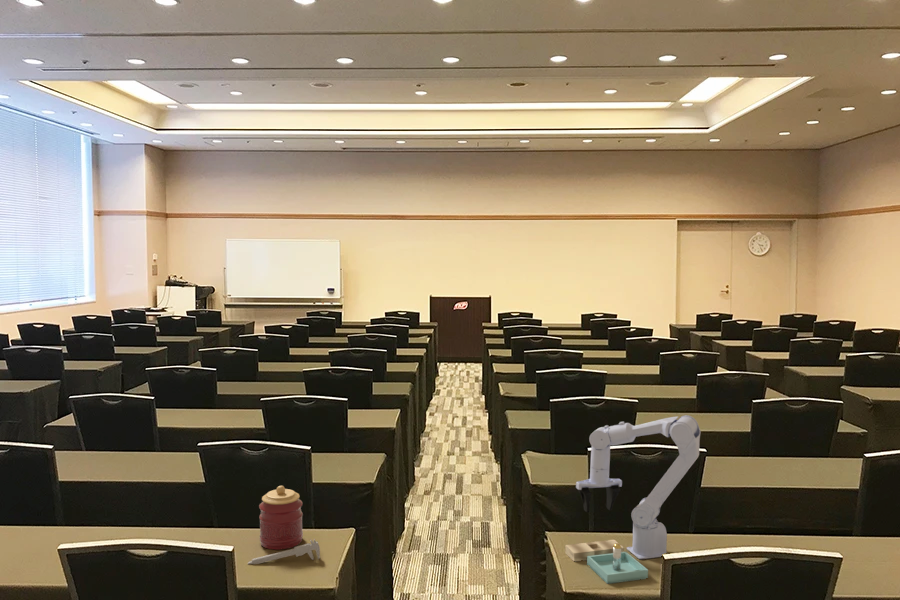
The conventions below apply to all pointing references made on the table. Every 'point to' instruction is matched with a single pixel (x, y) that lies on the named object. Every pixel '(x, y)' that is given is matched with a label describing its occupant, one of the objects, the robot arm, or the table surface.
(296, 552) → the caliper
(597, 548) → the beige slotted block
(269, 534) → the canister
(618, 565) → the pin
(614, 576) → the tray
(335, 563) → the table surface
